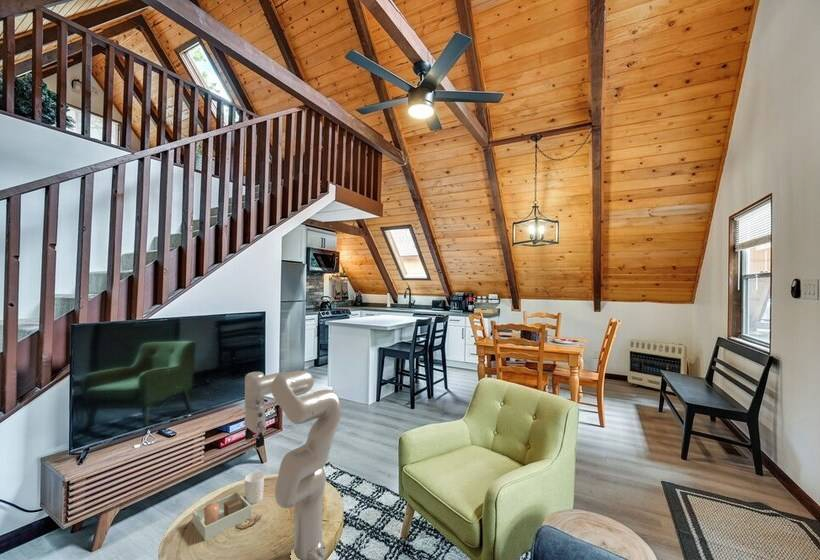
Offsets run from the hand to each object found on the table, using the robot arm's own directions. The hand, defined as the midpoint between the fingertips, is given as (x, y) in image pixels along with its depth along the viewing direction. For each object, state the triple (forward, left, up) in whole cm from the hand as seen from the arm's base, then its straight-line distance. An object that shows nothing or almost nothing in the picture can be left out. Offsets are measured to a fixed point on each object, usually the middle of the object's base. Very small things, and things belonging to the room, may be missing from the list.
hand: (254, 442), depth 152 cm
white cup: (+6, -3, -28) cm, 29 cm away
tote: (+2, +12, -28) cm, 31 cm away
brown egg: (+2, +16, -28) cm, 32 cm away
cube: (+2, +8, -28) cm, 29 cm away
